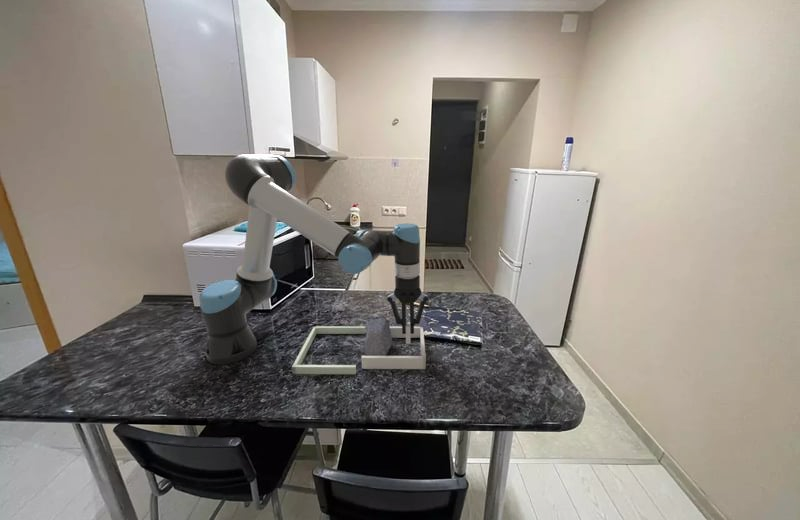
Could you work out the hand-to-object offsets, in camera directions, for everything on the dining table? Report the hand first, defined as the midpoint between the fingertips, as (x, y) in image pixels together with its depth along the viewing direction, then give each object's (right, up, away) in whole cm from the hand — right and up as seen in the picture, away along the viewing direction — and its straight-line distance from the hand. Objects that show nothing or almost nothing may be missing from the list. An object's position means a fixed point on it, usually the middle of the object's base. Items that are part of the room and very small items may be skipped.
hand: (408, 341), depth 100 cm
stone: (-10, -4, +2) cm, 11 cm away
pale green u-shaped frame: (-25, -4, +2) cm, 26 cm away
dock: (-4, -4, +1) cm, 6 cm away
